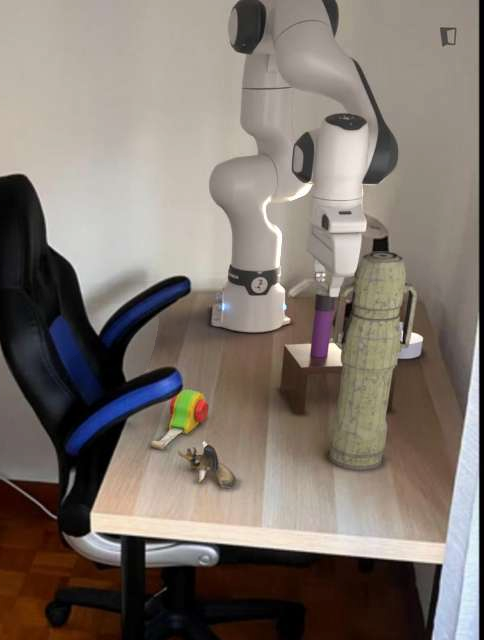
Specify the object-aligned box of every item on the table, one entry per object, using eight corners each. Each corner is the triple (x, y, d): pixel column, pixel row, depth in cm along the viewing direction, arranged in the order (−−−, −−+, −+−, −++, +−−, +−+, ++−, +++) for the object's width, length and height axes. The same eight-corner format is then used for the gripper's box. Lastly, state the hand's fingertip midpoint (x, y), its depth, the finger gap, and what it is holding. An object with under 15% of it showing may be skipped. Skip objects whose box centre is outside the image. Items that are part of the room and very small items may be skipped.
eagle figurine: (170, 474, 161) (212, 481, 155) (181, 432, 162) (225, 439, 155) (197, 485, 166) (239, 493, 160) (208, 445, 167) (251, 451, 160)
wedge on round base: (356, 354, 213) (419, 360, 209) (360, 324, 210) (424, 330, 205) (360, 341, 220) (421, 347, 216) (364, 313, 217) (426, 317, 213)
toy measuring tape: (217, 416, 185) (219, 384, 182) (171, 453, 171) (173, 419, 168) (186, 410, 188) (188, 378, 185) (139, 446, 174) (140, 412, 171)
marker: (307, 352, 188) (313, 290, 182) (325, 351, 188) (332, 290, 182) (312, 358, 185) (319, 296, 179) (330, 357, 184) (338, 295, 179)
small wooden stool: (280, 389, 196) (284, 344, 192) (369, 386, 196) (375, 341, 192) (296, 414, 185) (301, 367, 180) (391, 411, 185) (398, 364, 180)
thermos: (312, 449, 171) (335, 249, 155) (379, 446, 171) (409, 246, 155) (328, 471, 163) (354, 263, 147) (398, 468, 163) (431, 260, 147)
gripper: (302, 201, 183) (294, 274, 189) (333, 225, 165) (323, 305, 171) (336, 200, 183) (327, 273, 189) (370, 224, 165) (359, 304, 171)
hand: (325, 288), depth 180 cm, fingers open, 8 cm apart
